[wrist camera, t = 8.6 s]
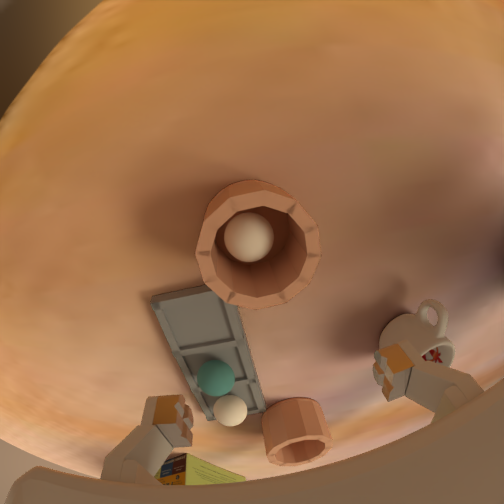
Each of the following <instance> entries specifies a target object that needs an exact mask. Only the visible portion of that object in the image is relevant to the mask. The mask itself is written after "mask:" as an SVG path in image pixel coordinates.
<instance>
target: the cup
mask: <svg viewBox="0 0 504 504" xmlns="http://www.w3.org/2000/svg"><path fill="white" fill-rule="evenodd" d="M429 307H432V308H433V309H434V310H435V311H436V313H437V316H438V321H437V324H436V325H435V326H433V325H432V324H431V323H430V322H429V320H428V318H427V311H428V309H429ZM447 324H448V313H447V310H446V308H445V307H444V306H443V305H442V304H441V303H440V302H438V301H436V300H432V299H428V300H425V301H423V302H422V303H421V305H420V306H419V308H418V311H417V313H416V315H415V314H403V315H400V316H398V317H396V318H395V319H393V320H392V321H391V322H390V323H389V324H388V325H387V326H386V327H385V328H384V330H383V332H382V334H381V336H380V340H379V348H380V349H382V348H384V347H387V346H390V345H392V344H396V343H398V342H401V341H403V340H408V341H409V342H410V343H411V345H412V346H413V347H414V348H415V349H416V351H417V352H418V353H419V354H420V355H421V357H422V358H423V359H424V360H425V361H427V360H429V361H432V362H434V363H437V364H440V365H443V366H446V367H449V368H450V366H451V364H452V362H453V360H454V356H455V347H454V344H453V343H452V342H451V341H450V340H449V339H448V338H446V337H445V336H444V333H445V330H446V327H447Z"/></svg>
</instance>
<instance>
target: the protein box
mask: <svg viewBox="0 0 504 504" xmlns="http://www.w3.org/2000/svg"><path fill="white" fill-rule="evenodd" d="M154 477H155V478H156V479H157V480H158V481H159V482H160V483H161V484H162V485H207V484H222V483H233V482H242V481H246V479H245V477H243V476H240V475H237V474H235V473H232V472H229V471H227V470H224V469H222V468H219V467H217V466H215V465H212V464H210V463H207V462H205V461H203V460H201V459H199V458H196V457H194V456H192V455H190V454H188V453H187V454H184V455H181V456H179V457H176V458H173V459H170V460H167V461H165V462H164V463H163V465H162V466H161V467H160V469H159V470H158V472H157V473H156V474H155V476H154Z"/></svg>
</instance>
